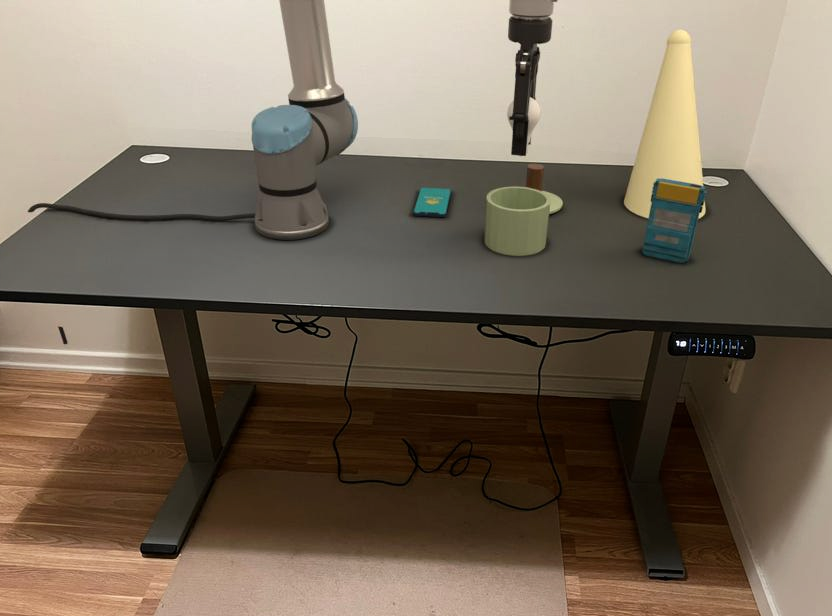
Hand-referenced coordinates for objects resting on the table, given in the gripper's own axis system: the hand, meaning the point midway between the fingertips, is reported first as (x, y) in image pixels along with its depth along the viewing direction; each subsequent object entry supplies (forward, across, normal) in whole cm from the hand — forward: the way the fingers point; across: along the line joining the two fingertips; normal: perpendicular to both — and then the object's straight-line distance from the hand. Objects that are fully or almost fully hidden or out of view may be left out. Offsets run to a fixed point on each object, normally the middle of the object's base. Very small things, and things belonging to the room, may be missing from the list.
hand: (521, 148), depth 137 cm
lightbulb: (+2, 0, 0) cm, 2 cm away
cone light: (+20, +31, -30) cm, 48 cm away
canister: (+19, 0, 0) cm, 19 cm away
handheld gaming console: (+20, +1, -30) cm, 36 cm away
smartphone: (+19, +15, +21) cm, 32 cm away
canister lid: (+19, +20, -1) cm, 28 cm away
